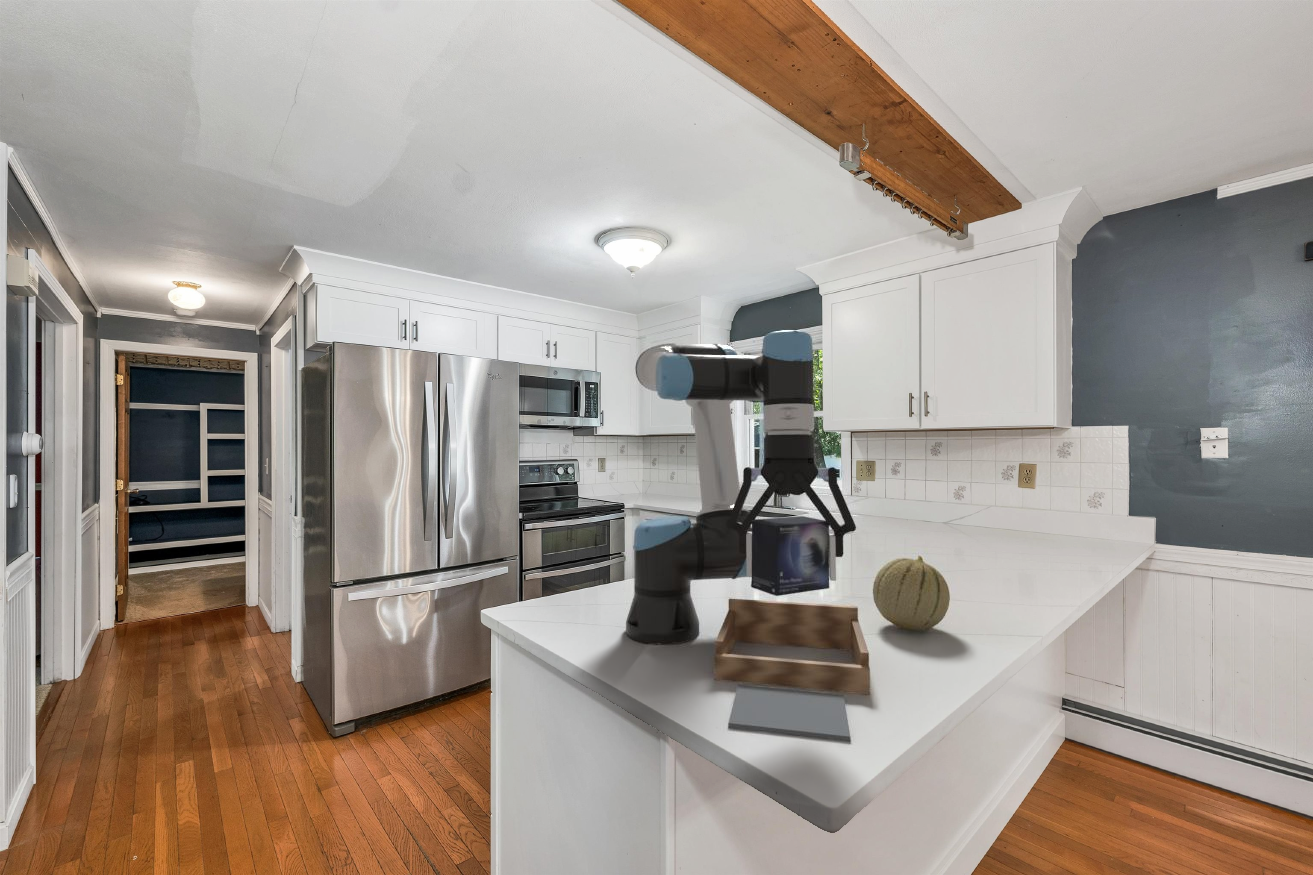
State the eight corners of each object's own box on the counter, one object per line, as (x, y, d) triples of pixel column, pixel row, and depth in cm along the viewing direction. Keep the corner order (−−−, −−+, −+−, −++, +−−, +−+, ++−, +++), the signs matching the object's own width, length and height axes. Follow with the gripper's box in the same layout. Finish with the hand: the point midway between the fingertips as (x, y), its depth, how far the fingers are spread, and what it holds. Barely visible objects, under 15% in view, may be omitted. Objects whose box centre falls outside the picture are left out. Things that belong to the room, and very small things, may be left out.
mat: (728, 727, 80) (728, 722, 80) (738, 687, 92) (738, 684, 92) (850, 741, 76) (850, 736, 76) (843, 698, 88) (843, 694, 88)
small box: (777, 597, 82) (776, 524, 83) (749, 588, 88) (748, 519, 88) (832, 588, 87) (831, 519, 88) (802, 580, 93) (801, 515, 93)
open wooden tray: (714, 679, 96) (714, 631, 96) (729, 638, 115) (729, 598, 115) (870, 694, 90) (869, 642, 90) (857, 648, 109) (857, 606, 110)
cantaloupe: (860, 628, 121) (860, 556, 121) (890, 613, 131) (890, 547, 131) (934, 646, 111) (933, 567, 111) (960, 628, 121) (960, 556, 121)
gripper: (707, 434, 87) (708, 578, 87) (875, 431, 82) (877, 586, 81) (713, 435, 95) (715, 568, 94) (868, 433, 89) (870, 574, 89)
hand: (790, 577), depth 88 cm, fingers closed on small box, 11 cm apart
